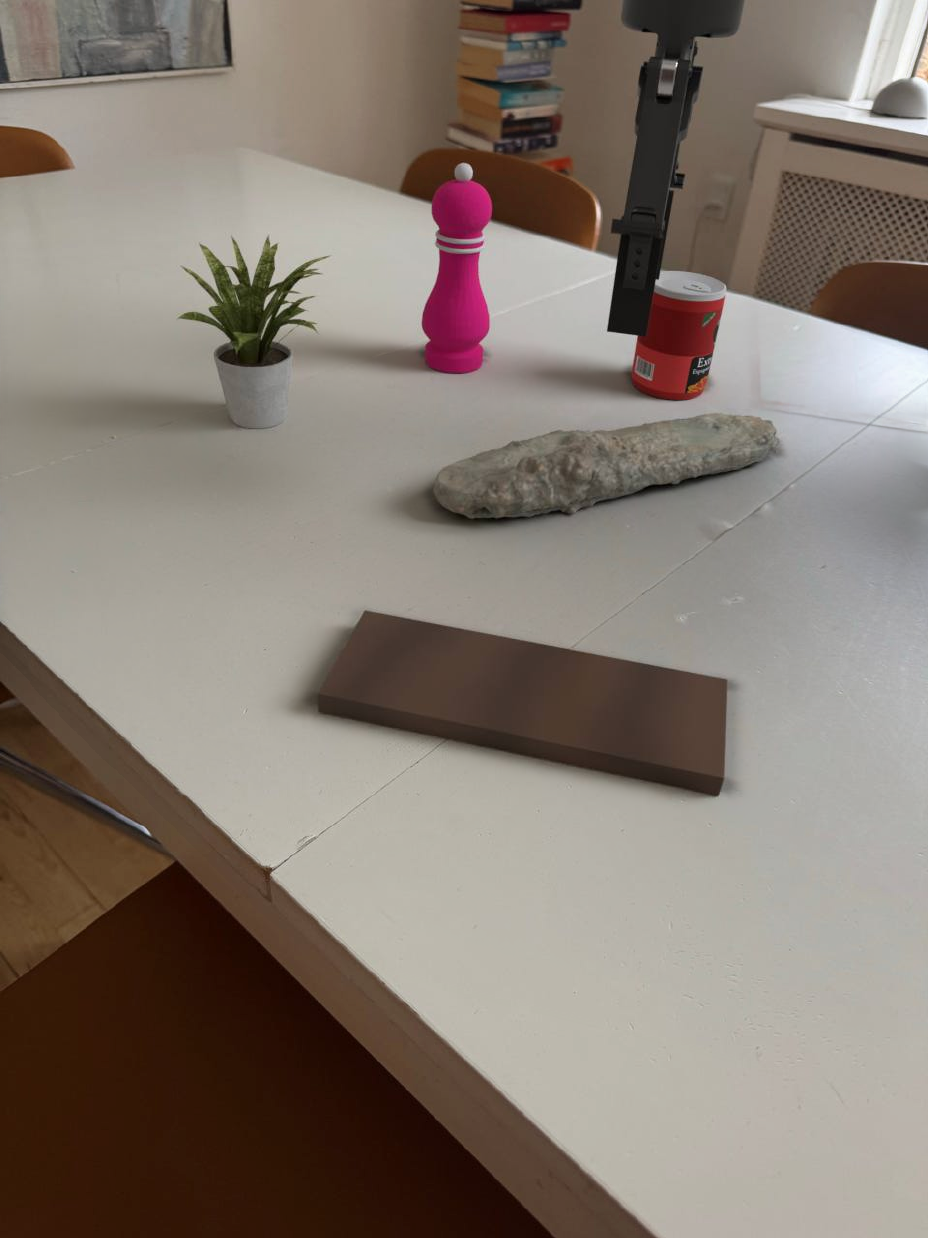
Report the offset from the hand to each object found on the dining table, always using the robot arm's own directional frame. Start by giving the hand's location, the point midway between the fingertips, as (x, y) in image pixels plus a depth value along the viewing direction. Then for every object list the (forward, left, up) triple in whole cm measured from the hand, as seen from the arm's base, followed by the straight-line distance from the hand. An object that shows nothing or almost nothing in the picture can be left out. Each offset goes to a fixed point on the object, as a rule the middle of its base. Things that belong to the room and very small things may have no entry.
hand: (634, 302), depth 72 cm
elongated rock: (-1, -4, -17) cm, 17 cm away
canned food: (-4, -27, -17) cm, 32 cm away
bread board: (+1, +28, -17) cm, 32 cm away
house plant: (+32, -4, -17) cm, 37 cm away
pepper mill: (+19, -25, -17) cm, 36 cm away
